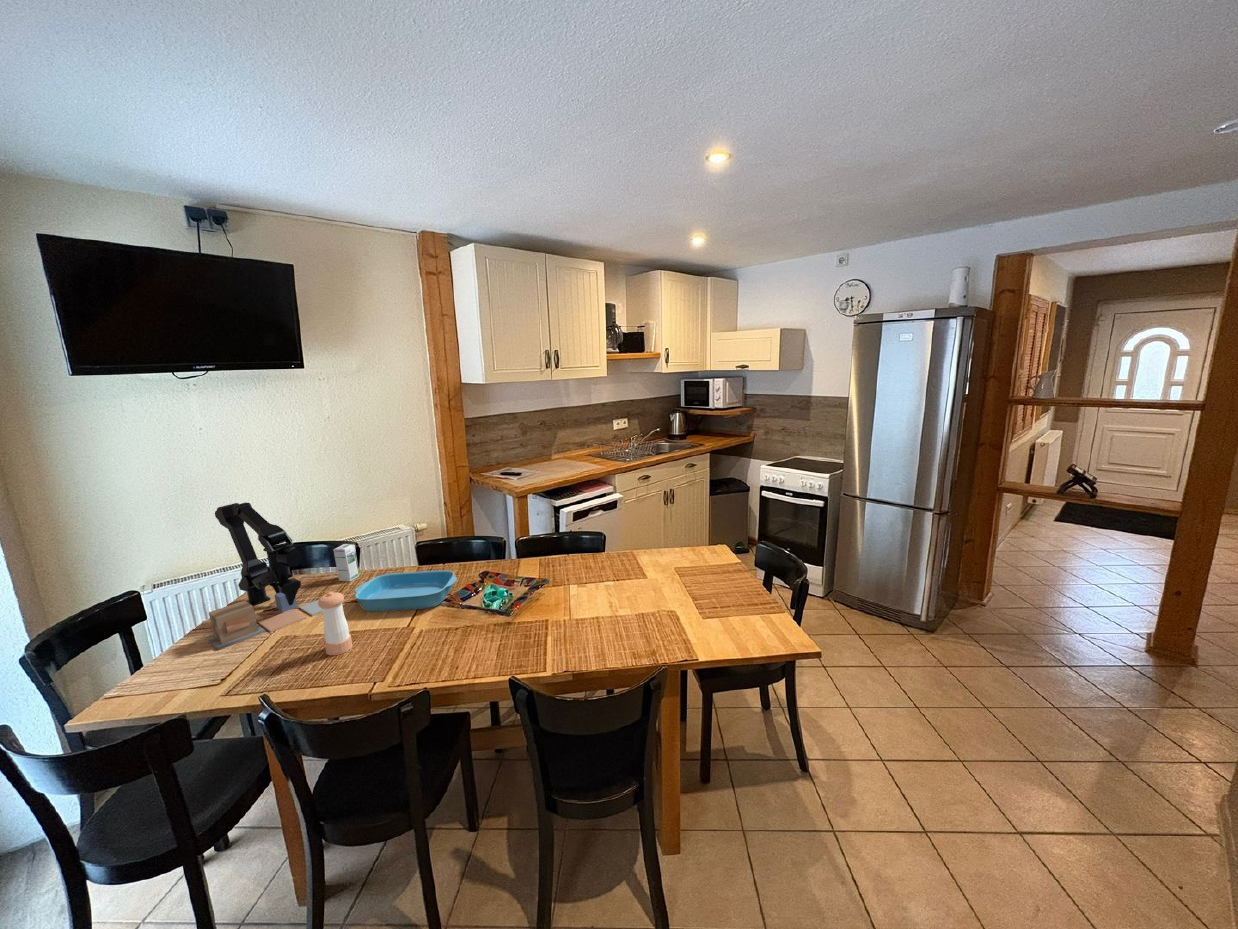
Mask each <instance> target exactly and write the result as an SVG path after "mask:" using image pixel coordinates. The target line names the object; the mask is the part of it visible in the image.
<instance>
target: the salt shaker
mask: <svg viewBox="0 0 1238 929" xmlns="http://www.w3.org/2000/svg"><path fill="white" fill-rule="evenodd" d="M318 600H319V601H318V605H319V607H320V608H322V611H323V612H322V616H323V634H324V638H325V639H324V640H325V641H324V646H325V648H324V649H325V652H326V655H329V656H338V655H342V654H343V653H344V654H345V653H346V652H348V651H350V650H351V649H352V647H353V640H352V635H351V633H350V630H349V625H348V624H349V623H348V621H347V619H346V616H345V613H344V606H343V604H342V603H343V602H344V601H345V596H344V594H342V593H341V592H335V591H334V592H333V591H329V592H327V593H326V594H323V595H322V596H321V597H320V598H319V599H318Z"/></svg>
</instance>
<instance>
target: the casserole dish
mask: <svg viewBox="0 0 1238 929" xmlns="http://www.w3.org/2000/svg"><path fill="white" fill-rule="evenodd" d="M457 580H458V578H457V576H456V575H455V572H454V571H452V570H425V571H411V572H410V571H409V572H394V573H392V572H391V573H386V574H382V575H381V574H380V575H377V576H375V577H374V578H372V579H370V580H368V581H366V582H364V583H361V584H360V585H359V586H357V588H355V589H354V593H355V594H354V598H355V600H356V601H357V602H358V604H359V605H360V607H361V608H362V609H363V610H364V611H367V612H374V613H375V612H392V611H393V612H396V611H397V612H398V611H408V610H421V609H422V610H423V609H430V608H434V607H436V606H438V605H440V604H441V603H442V602H443V601H444V600H445V599H446V598H447V596H448V595H449V593H450V592H451V590H452V588H453V585H454V584H455V583H456V582H457Z"/></svg>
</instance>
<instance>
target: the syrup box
mask: <svg viewBox="0 0 1238 929" xmlns="http://www.w3.org/2000/svg"><path fill="white" fill-rule="evenodd" d="M332 550H333V555H334V561H335V566H336V570H337V575H338V576H337V577H338V581H341V582H353V581H354V580H355V579H357V578H360V576H361V573H360V569H359V563H358V558H357V552H356V546H355V544H353V543H344V544H343V543H342V545H339V546H338V547H336V548H333V549H332Z"/></svg>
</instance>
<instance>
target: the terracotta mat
mask: <svg viewBox="0 0 1238 929" xmlns="http://www.w3.org/2000/svg"><path fill="white" fill-rule="evenodd" d="M306 619H307V616H305V615H303V614H302V613H300V612H299V611H297V610H296V609H295V608H294V609H291V610H288V611H286V612H283V613H282V612H280V613H279V614H277V615H274V616H271V617H268V618H265V619H262V620H260V621H258V625H259V626H260V625H261V626H262V628H263V629H265V630H267V631H268V632H270V633H274V632H276V631H278V630H280V629H283V628H286V627H288V626H291V625H293V624H296V623H299V622H301V621H303V620H304V621H305V620H306Z"/></svg>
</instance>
